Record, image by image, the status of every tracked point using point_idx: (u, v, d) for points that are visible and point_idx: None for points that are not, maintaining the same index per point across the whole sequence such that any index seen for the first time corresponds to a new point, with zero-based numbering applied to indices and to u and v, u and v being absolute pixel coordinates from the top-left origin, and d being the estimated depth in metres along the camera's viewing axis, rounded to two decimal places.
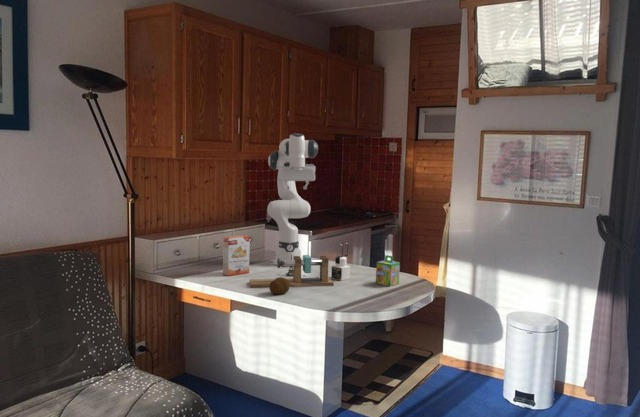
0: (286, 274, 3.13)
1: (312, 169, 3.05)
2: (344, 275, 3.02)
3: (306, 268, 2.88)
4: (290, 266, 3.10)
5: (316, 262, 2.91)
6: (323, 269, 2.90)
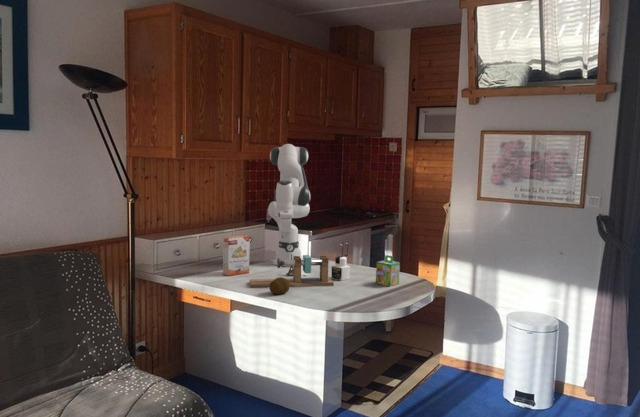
0: (287, 274, 3.13)
1: None
2: (344, 275, 3.02)
3: (306, 268, 2.88)
4: (290, 266, 3.10)
5: (316, 262, 2.91)
6: (323, 269, 2.90)
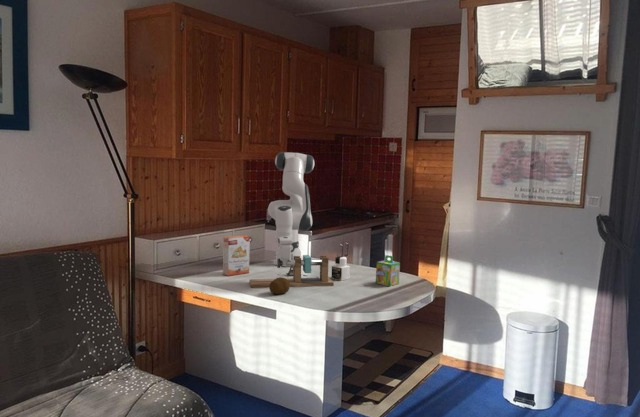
0: (287, 274, 3.13)
1: None
2: (344, 275, 3.02)
3: (306, 268, 2.88)
4: (291, 266, 3.11)
5: (316, 262, 2.91)
6: (323, 269, 2.90)
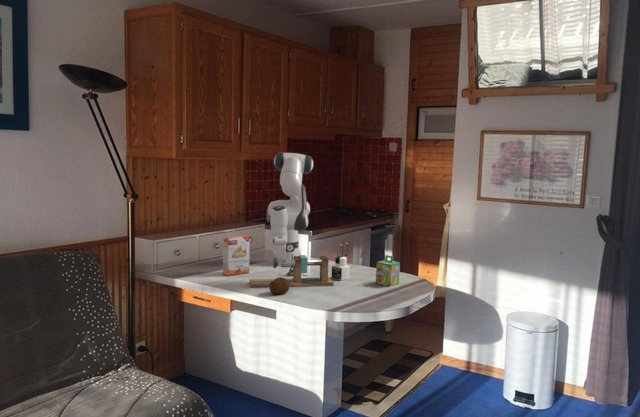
0: (287, 274, 3.14)
1: None
2: (344, 275, 3.02)
3: (302, 268, 2.88)
4: (291, 266, 3.11)
5: (312, 262, 2.91)
6: (323, 269, 2.90)
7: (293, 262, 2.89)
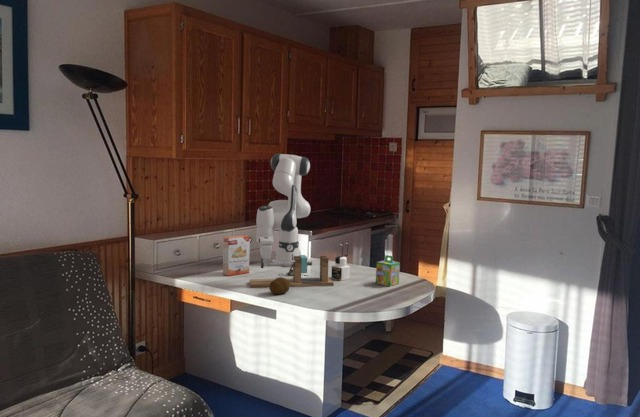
0: (287, 274, 3.14)
1: None
2: (344, 275, 3.02)
3: (302, 268, 2.88)
4: (291, 266, 3.11)
5: None
6: (323, 269, 2.90)
7: (281, 262, 2.88)
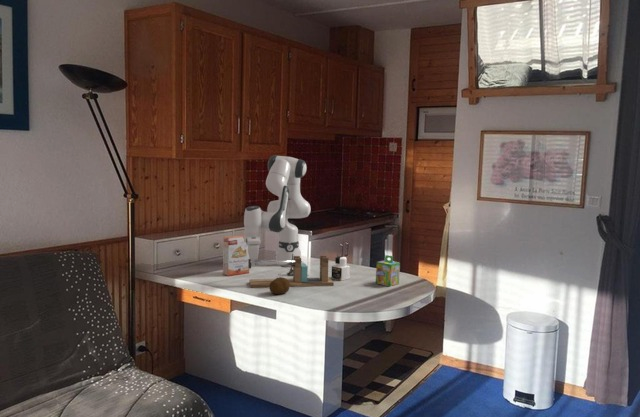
0: (287, 274, 3.14)
1: None
2: (344, 275, 3.02)
3: (302, 277, 2.88)
4: (291, 266, 3.11)
5: (287, 263, 2.89)
6: (323, 269, 2.90)
7: (268, 262, 2.87)
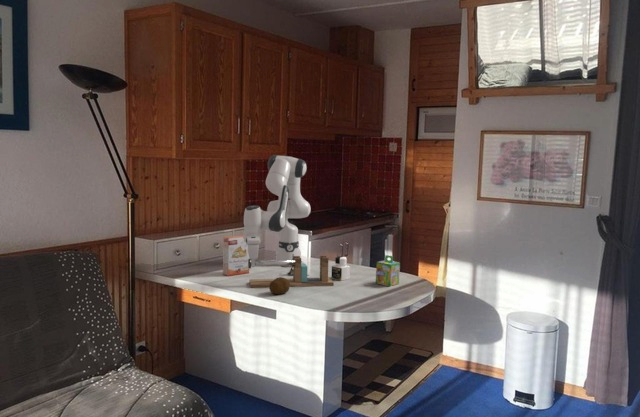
0: (288, 274, 3.14)
1: None
2: (344, 275, 3.02)
3: (302, 277, 2.88)
4: None
5: (287, 263, 2.89)
6: (323, 269, 2.90)
7: (268, 262, 2.87)
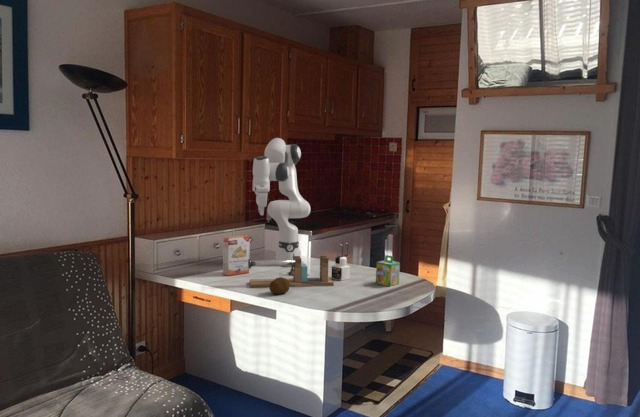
0: (288, 273, 3.15)
1: None
2: (344, 275, 3.02)
3: (302, 277, 2.88)
4: None
5: (287, 263, 2.89)
6: (323, 269, 2.90)
7: (268, 262, 2.87)
